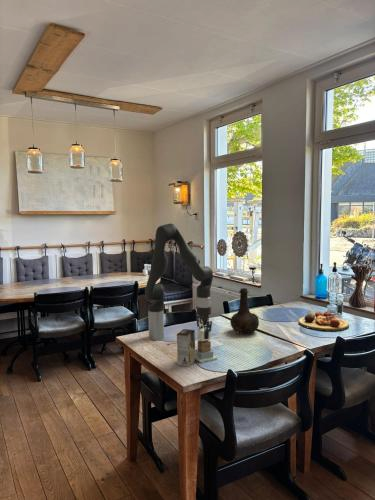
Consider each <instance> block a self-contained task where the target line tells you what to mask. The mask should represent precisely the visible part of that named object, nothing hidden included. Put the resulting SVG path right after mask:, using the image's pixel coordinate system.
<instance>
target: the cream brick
mask: <svg viewBox="0 0 375 500" xmlns="http://www.w3.org/2000/svg"><path fill="white" fill-rule="evenodd" d="M211 332H212V330H211V331H210V332H209V338H208V339H204V328H201V329H199V328H197V339H198V340H201V341H206V340H208V341H211V340H212V339H211Z"/></svg>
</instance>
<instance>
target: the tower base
mask: <svg viewBox="0 0 375 500" xmlns="http://www.w3.org/2000/svg"><path fill="white" fill-rule="evenodd" d="M215 359H217V360H218V357H217V356H215V355H214V351H213V350H212V349H211V351H209V352H204V353H202V352H200V351H199V350H198V348H195V361H197V362H198V361H199V362H198V363H200V362H202V363H206V362H205V361H207V362H211V361H210V360H212V361H216V360H215Z"/></svg>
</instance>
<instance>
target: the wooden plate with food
mask: <svg viewBox="0 0 375 500" xmlns="http://www.w3.org/2000/svg"><path fill="white" fill-rule="evenodd" d="M298 324H299V325H300V326H301V327H303V328H306V327H308V328H307V329H310V328H312V329H311V330H315V329H316V330H315V331H323V330H325V331H327V332H334V331H335V332H336V331H337V332H338V331H343V330H346V329H348V328H349V327H350V324H349V322H348V321H346V320H344V319H341V318H338V317H335V316H334V315H332V313H331V312H330V311H329V312H328V311H324V312H320V311H317V312H315V313H314V312H312V311H309V312H308V313H306V315H305V316H303V317H300V318H299V319H298ZM325 331H324V332H325Z"/></svg>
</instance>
